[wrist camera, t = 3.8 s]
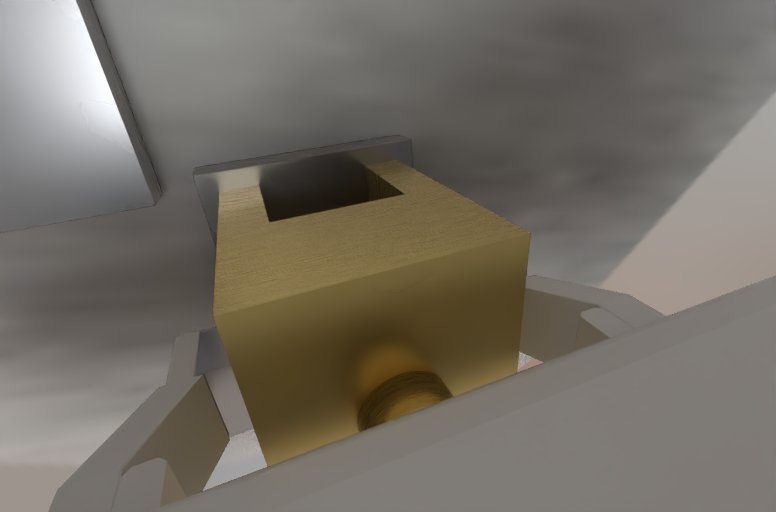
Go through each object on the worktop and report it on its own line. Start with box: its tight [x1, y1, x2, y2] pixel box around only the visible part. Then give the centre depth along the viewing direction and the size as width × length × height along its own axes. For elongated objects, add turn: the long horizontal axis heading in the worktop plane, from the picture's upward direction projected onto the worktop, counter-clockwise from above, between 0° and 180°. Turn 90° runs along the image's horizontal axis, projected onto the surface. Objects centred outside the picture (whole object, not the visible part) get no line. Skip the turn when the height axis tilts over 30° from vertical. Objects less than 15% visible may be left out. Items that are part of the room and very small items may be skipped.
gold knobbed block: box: [213, 160, 531, 467], centre depth 9 cm, size 5×6×7 cm
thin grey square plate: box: [193, 135, 413, 248], centre depth 13 cm, size 6×7×1 cm
